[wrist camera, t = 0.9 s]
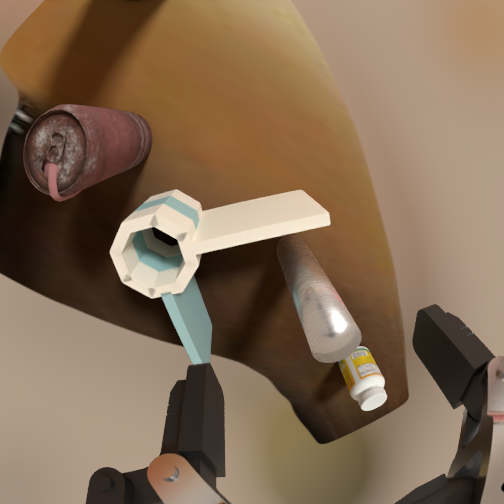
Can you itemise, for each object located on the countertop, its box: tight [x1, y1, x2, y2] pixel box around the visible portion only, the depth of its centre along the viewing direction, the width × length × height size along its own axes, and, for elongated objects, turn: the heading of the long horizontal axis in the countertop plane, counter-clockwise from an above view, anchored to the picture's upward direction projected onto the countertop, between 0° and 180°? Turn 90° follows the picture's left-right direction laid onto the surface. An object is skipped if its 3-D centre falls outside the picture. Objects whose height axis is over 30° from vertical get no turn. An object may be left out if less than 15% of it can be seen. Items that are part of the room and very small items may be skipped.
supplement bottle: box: [339, 346, 387, 411], centre depth 36 cm, size 5×5×10 cm
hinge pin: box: [276, 234, 361, 363], centre depth 25 cm, size 4×4×16 cm
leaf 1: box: [132, 196, 212, 365], centre depth 28 cm, size 18×7×9 cm, turn 12°
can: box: [23, 104, 152, 202], centre depth 19 cm, size 6×6×14 cm
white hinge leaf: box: [110, 189, 330, 298], centre depth 25 cm, size 7×18×9 cm, turn 102°
